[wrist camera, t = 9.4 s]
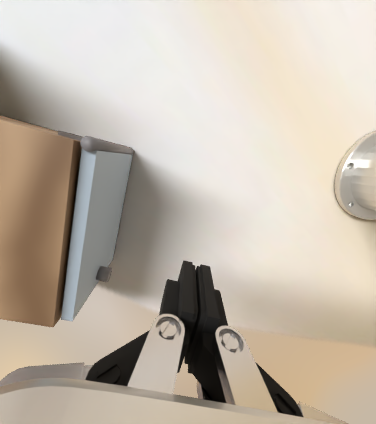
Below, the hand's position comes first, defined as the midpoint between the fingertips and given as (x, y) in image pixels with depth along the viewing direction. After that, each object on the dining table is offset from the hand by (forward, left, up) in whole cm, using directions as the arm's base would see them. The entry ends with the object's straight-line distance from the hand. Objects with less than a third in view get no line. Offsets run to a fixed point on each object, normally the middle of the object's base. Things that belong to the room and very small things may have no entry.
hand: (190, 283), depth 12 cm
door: (+8, +1, -15) cm, 18 cm away
